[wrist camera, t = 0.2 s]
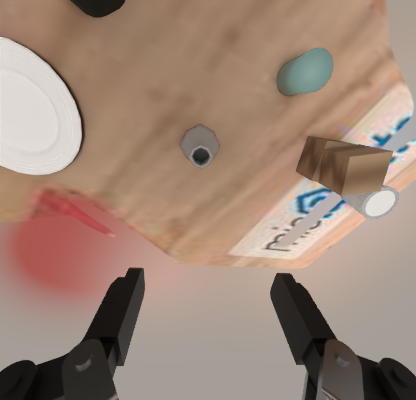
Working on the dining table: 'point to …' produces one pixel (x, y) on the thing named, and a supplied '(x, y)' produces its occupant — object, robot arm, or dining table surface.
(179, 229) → the dining table surface
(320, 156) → the tower base
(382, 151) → the tower top
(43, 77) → the plate
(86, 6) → the sushi
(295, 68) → the cylinder
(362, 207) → the grey cup
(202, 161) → the flask
